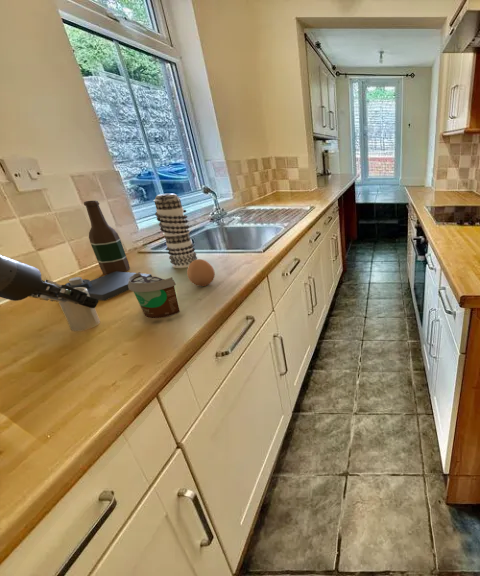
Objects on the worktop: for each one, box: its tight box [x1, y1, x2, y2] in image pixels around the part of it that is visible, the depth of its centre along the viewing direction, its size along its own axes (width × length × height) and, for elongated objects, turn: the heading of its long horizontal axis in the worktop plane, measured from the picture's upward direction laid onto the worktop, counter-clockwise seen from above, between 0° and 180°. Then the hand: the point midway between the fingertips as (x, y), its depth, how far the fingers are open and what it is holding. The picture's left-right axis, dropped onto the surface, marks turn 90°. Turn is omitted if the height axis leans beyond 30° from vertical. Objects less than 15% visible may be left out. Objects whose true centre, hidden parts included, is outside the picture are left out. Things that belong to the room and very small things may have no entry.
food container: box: [128, 272, 181, 319], centre depth 80 cm, size 12×6×10 cm, turn 71°
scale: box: [64, 271, 153, 301], centre depth 97 cm, size 14×16×4 cm
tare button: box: [68, 276, 84, 285], centre depth 92 cm, size 3×3×2 cm
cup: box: [57, 287, 101, 332], centre depth 75 cm, size 5×5×9 cm
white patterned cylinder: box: [152, 193, 198, 269], centre depth 112 cm, size 9×9×25 cm
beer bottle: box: [83, 200, 131, 275], centre depth 106 cm, size 8×8×24 cm
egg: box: [186, 258, 216, 287], centre depth 98 cm, size 7×7×8 cm
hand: (85, 303), depth 77 cm, fingers closed on cup, 5 cm apart
